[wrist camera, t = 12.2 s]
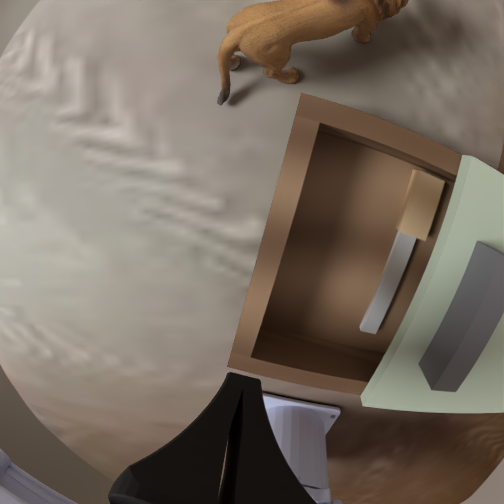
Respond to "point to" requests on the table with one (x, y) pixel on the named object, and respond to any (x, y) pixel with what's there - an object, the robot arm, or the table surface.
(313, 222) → the wooden box
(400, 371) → the lid
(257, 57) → the lion figurine
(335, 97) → the table surface
